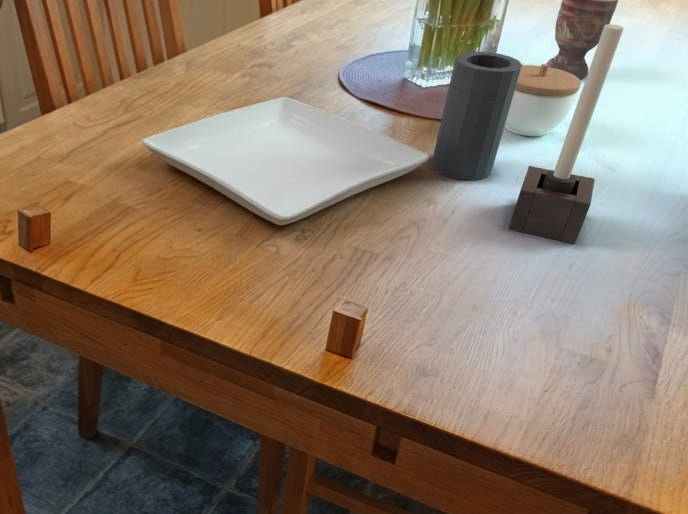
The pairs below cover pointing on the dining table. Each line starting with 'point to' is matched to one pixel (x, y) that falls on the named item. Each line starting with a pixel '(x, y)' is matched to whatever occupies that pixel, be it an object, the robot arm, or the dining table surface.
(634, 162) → the dining table surface
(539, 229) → the holder
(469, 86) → the dark grey cylindrical container
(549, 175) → the brush
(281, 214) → the square plate
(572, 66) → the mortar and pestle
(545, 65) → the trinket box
